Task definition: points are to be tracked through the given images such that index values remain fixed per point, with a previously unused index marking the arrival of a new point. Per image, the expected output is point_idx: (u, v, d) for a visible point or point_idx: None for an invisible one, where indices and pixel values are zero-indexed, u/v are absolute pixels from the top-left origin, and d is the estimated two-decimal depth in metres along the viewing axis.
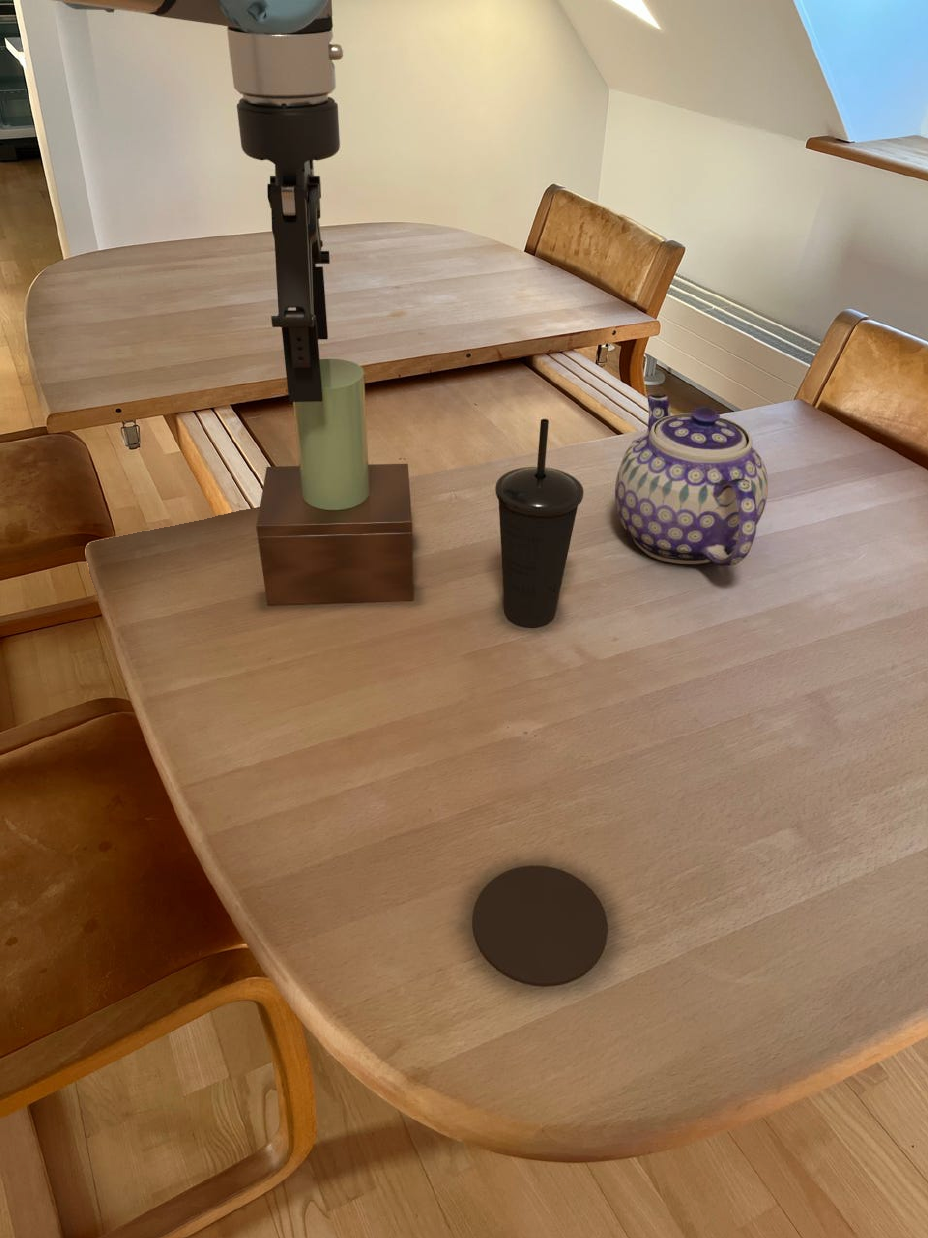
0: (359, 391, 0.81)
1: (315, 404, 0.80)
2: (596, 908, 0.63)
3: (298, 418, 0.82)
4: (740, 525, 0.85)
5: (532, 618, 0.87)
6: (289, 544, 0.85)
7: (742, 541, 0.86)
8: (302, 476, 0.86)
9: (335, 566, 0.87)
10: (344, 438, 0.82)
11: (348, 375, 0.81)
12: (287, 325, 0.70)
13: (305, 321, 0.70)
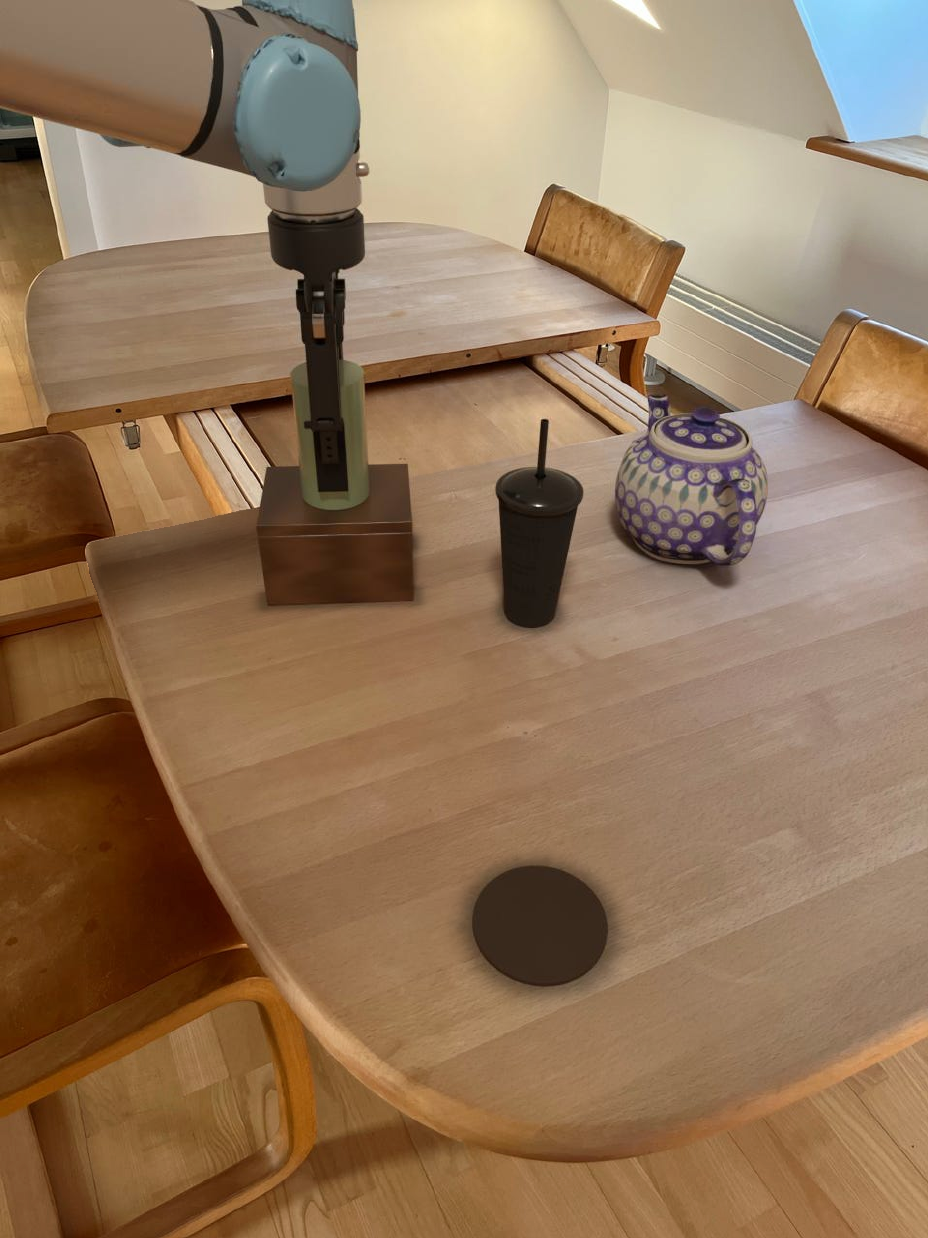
0: (359, 391, 0.81)
1: None
2: (596, 908, 0.63)
3: (298, 418, 0.82)
4: (740, 525, 0.85)
5: (532, 618, 0.87)
6: (289, 544, 0.85)
7: (742, 542, 0.86)
8: (302, 476, 0.86)
9: (335, 566, 0.87)
10: None
11: (348, 375, 0.81)
12: (319, 431, 0.78)
13: (335, 426, 0.77)
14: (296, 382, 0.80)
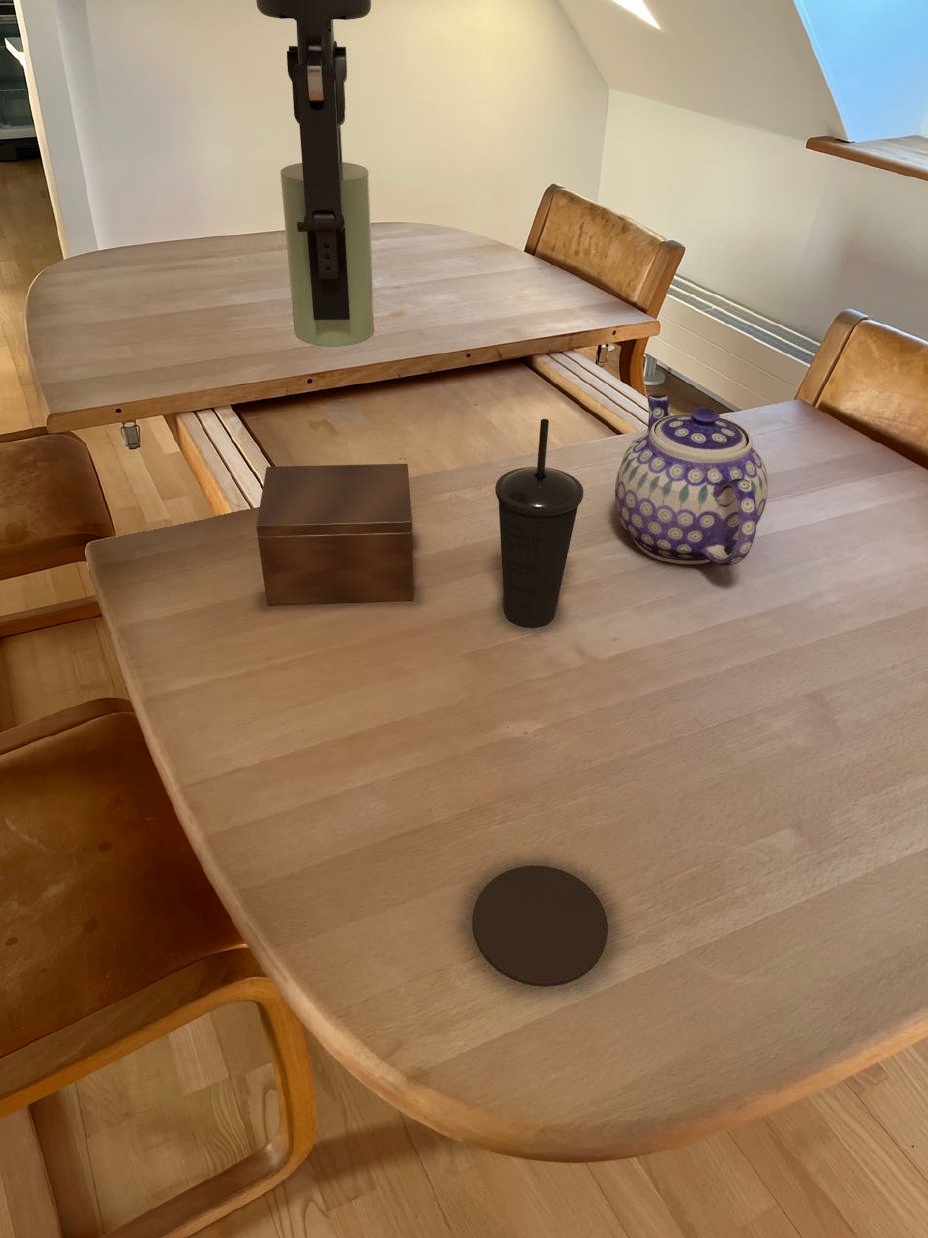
0: (363, 191, 0.68)
1: None
2: (596, 908, 0.63)
3: (290, 226, 0.69)
4: (740, 525, 0.85)
5: (532, 618, 0.87)
6: (289, 544, 0.85)
7: (742, 542, 0.86)
8: (295, 305, 0.73)
9: (335, 566, 0.87)
10: None
11: (350, 172, 0.68)
12: (315, 228, 0.64)
13: (335, 222, 0.64)
14: (288, 177, 0.67)
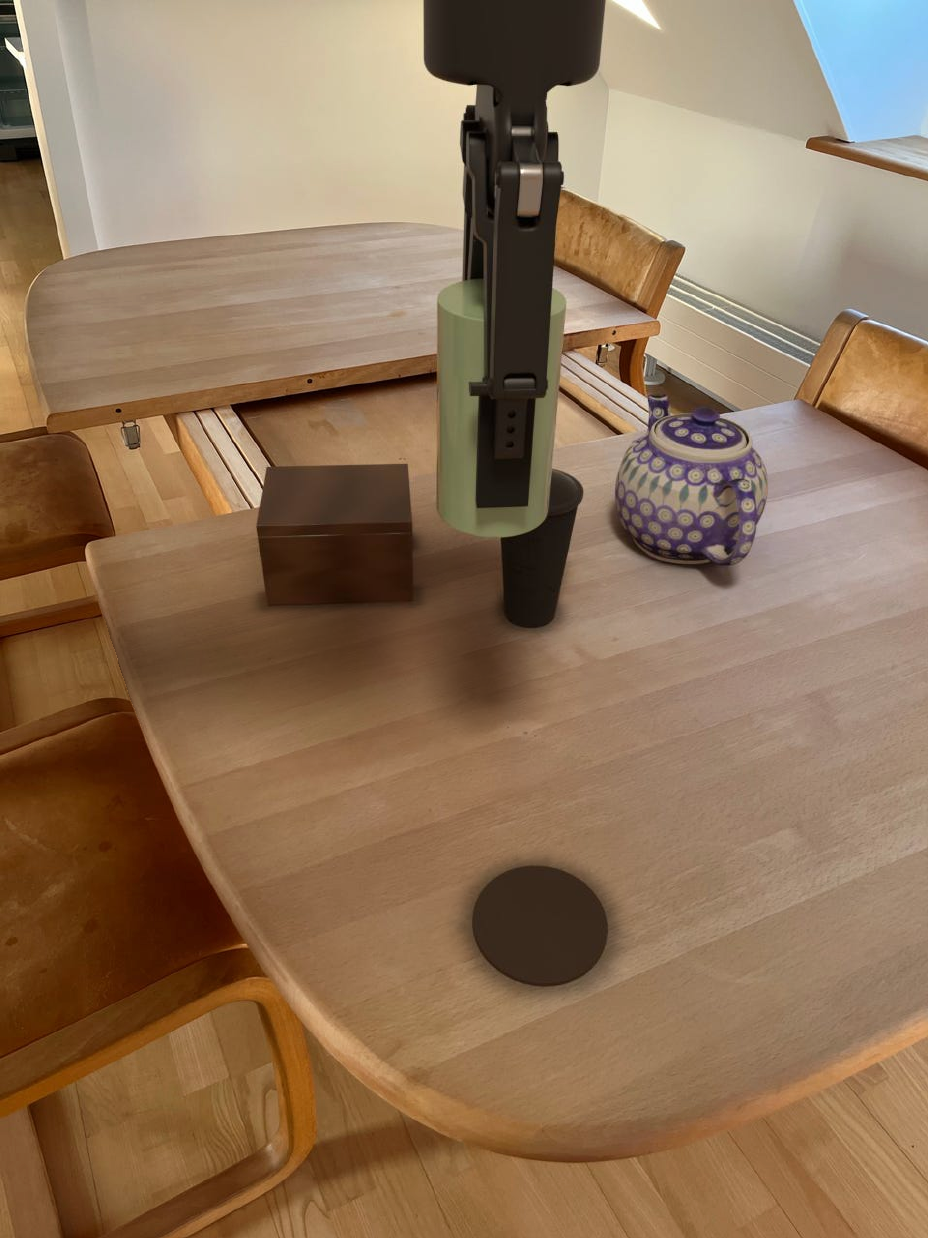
0: (560, 330, 0.46)
1: None
2: (596, 908, 0.63)
3: (449, 378, 0.47)
4: (740, 525, 0.85)
5: (532, 618, 0.87)
6: (289, 544, 0.85)
7: (742, 542, 0.86)
8: (444, 481, 0.51)
9: (335, 566, 0.87)
10: None
11: None
12: (504, 398, 0.42)
13: (536, 390, 0.42)
14: (454, 313, 0.44)
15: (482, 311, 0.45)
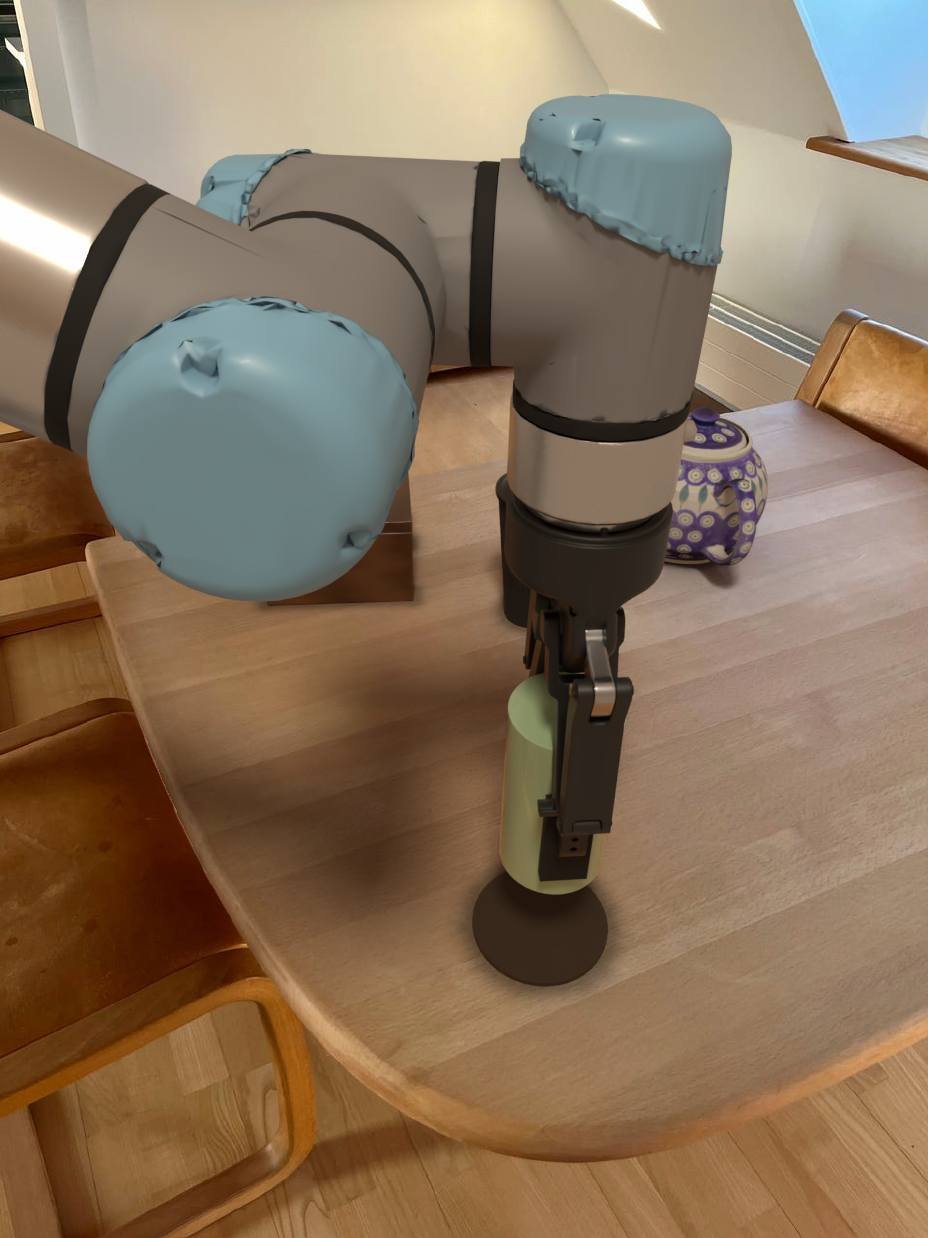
0: None
1: None
2: (596, 908, 0.63)
3: (518, 778, 0.51)
4: (740, 525, 0.85)
5: None
6: None
7: (742, 542, 0.86)
8: (509, 844, 0.55)
9: None
10: None
11: None
12: None
13: (601, 830, 0.46)
14: (525, 737, 0.49)
15: (550, 734, 0.49)
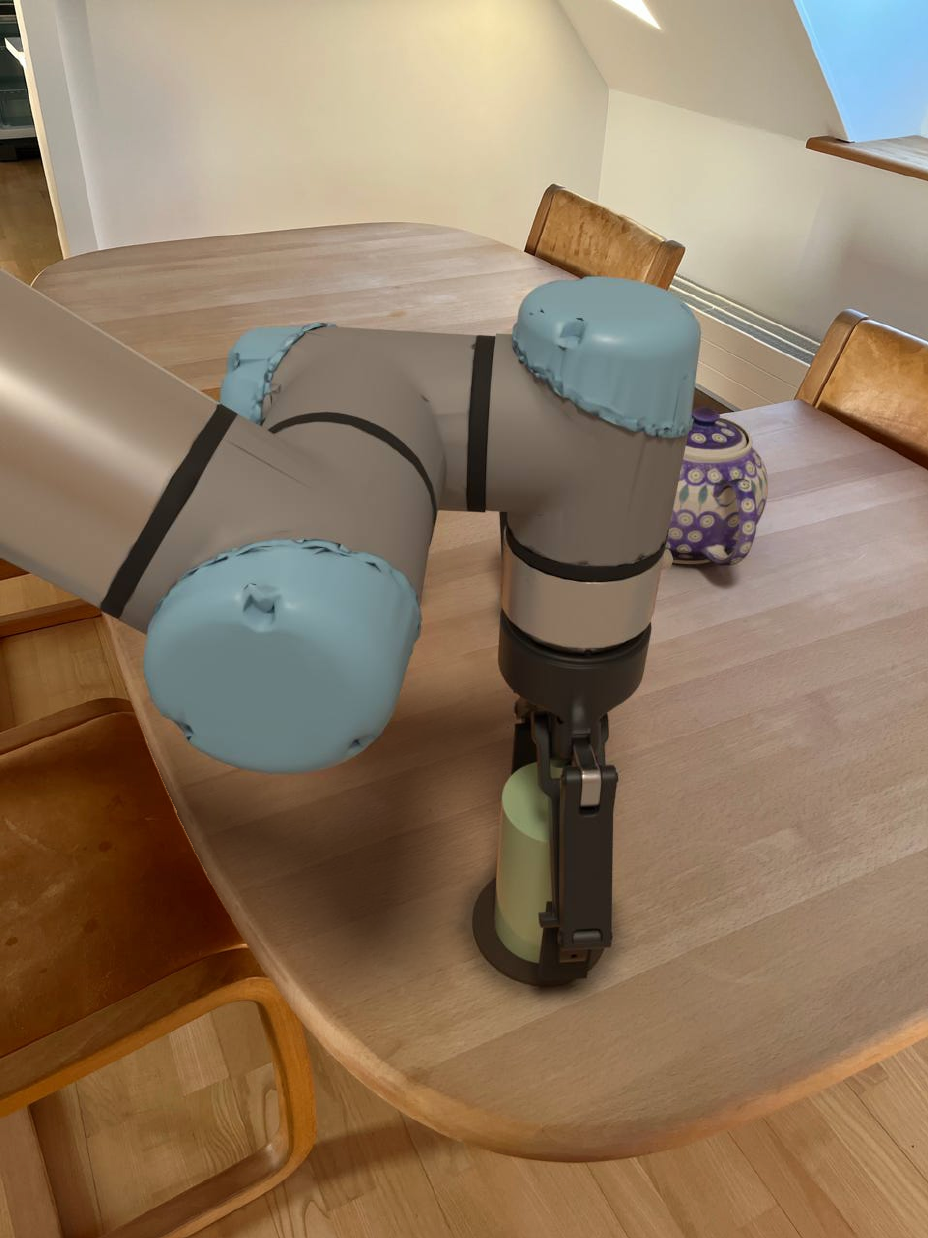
0: None
1: (544, 859, 0.53)
2: None
3: (511, 862, 0.55)
4: (740, 525, 0.85)
5: None
6: None
7: (742, 542, 0.86)
8: (503, 918, 0.59)
9: None
10: None
11: None
12: (573, 950, 0.47)
13: (601, 945, 0.47)
14: (517, 828, 0.53)
15: (541, 824, 0.53)
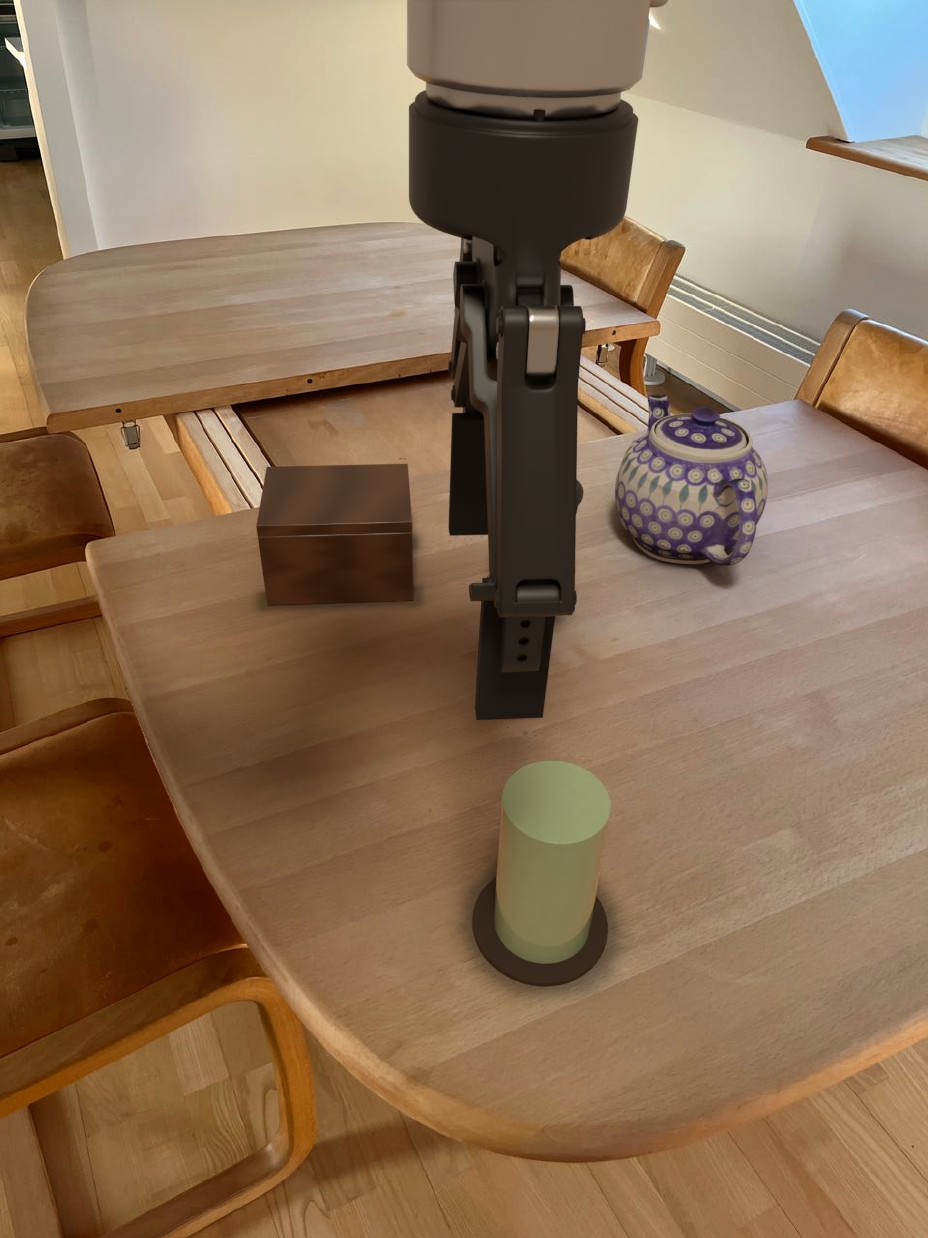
0: (605, 831, 0.54)
1: (544, 859, 0.53)
2: (596, 908, 0.63)
3: (511, 862, 0.55)
4: (740, 525, 0.85)
5: None
6: (289, 544, 0.85)
7: (742, 541, 0.86)
8: (503, 918, 0.59)
9: (335, 566, 0.87)
10: (578, 891, 0.56)
11: (589, 806, 0.54)
12: (518, 616, 0.31)
13: (560, 608, 0.31)
14: (517, 828, 0.53)
15: (541, 824, 0.53)
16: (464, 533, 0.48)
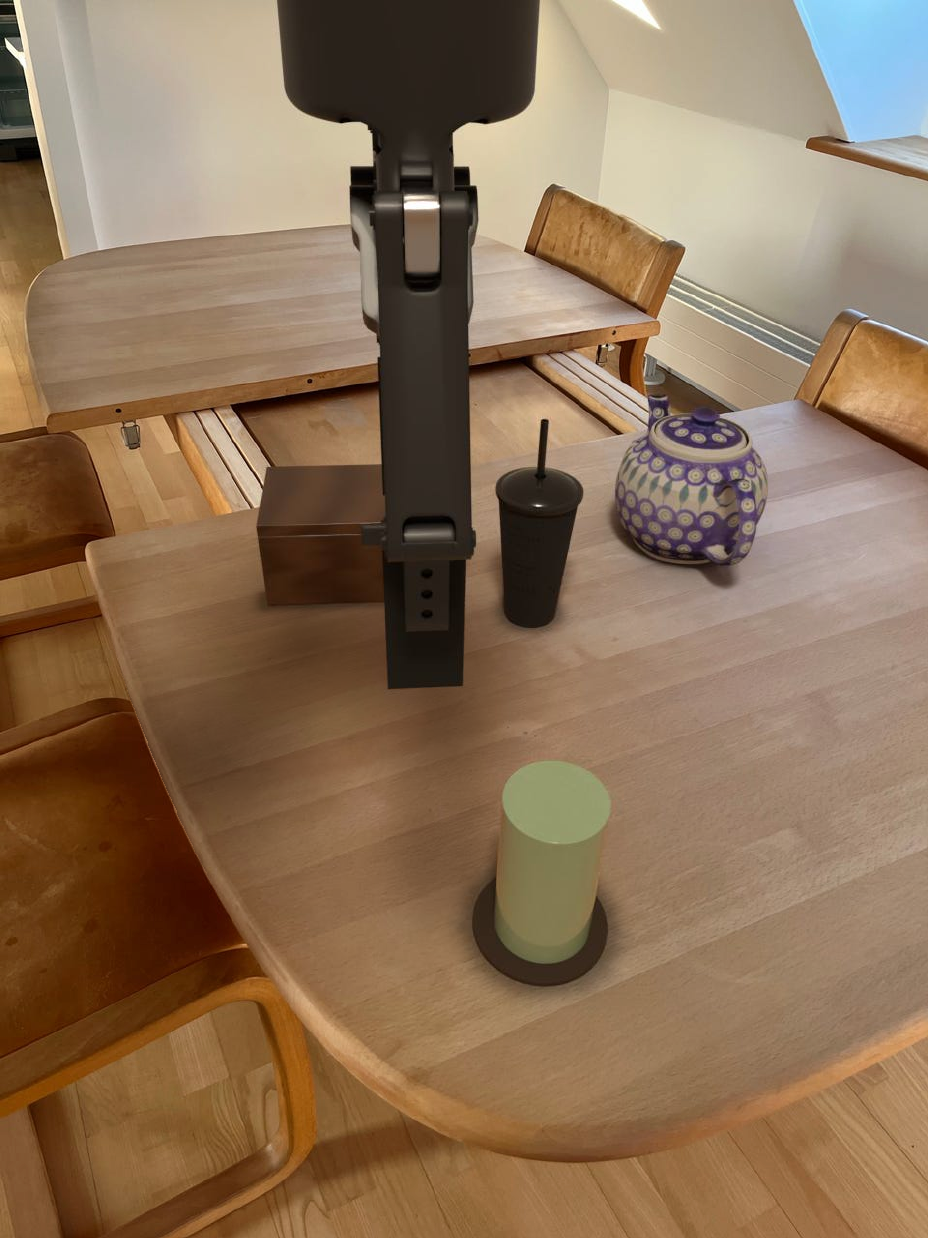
0: (605, 831, 0.54)
1: (544, 859, 0.53)
2: (596, 908, 0.63)
3: (511, 862, 0.55)
4: (740, 525, 0.85)
5: (532, 618, 0.87)
6: (289, 544, 0.85)
7: (742, 542, 0.86)
8: (503, 918, 0.59)
9: (335, 566, 0.87)
10: (578, 891, 0.56)
11: (589, 806, 0.54)
12: (407, 560, 0.27)
13: (456, 551, 0.27)
14: (517, 828, 0.53)
15: (541, 824, 0.53)
16: None
